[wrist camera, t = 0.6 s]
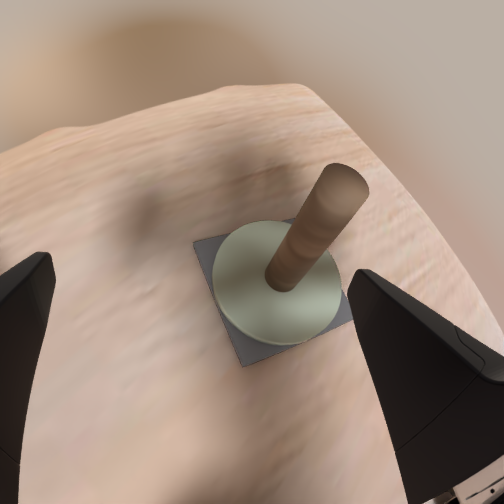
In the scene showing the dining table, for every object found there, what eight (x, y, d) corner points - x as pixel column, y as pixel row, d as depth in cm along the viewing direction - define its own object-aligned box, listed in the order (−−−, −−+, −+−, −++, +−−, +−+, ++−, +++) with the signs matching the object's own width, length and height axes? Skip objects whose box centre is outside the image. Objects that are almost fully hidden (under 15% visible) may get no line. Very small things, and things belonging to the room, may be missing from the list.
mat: (354, 318, 27) (356, 317, 27) (242, 367, 23) (243, 366, 22) (300, 218, 31) (301, 216, 31) (193, 244, 27) (193, 242, 27)
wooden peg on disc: (356, 317, 27) (454, 244, 16) (243, 366, 22) (312, 309, 12) (301, 216, 31) (360, 117, 20) (193, 242, 27) (214, 122, 16)
